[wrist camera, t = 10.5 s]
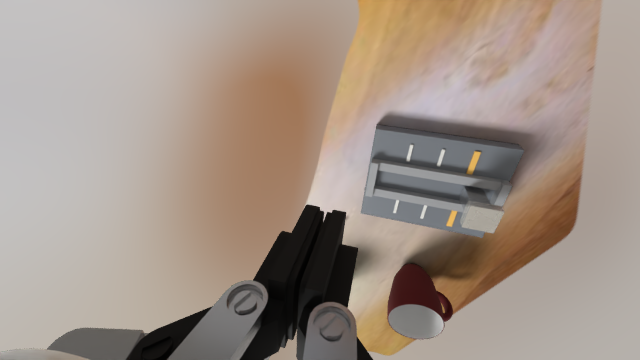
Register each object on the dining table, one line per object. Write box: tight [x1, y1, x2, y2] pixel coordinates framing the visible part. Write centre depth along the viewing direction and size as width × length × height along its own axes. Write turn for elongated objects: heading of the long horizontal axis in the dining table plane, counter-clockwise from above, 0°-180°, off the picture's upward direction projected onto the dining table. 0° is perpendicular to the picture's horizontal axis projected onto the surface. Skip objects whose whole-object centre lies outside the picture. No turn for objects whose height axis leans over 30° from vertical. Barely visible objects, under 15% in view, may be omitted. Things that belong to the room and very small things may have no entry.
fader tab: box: [459, 186, 504, 233], centre depth 35 cm, size 3×4×6 cm
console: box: [361, 125, 524, 238], centre depth 38 cm, size 14×18×4 cm
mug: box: [388, 264, 453, 339], centre depth 45 cm, size 11×8×10 cm
